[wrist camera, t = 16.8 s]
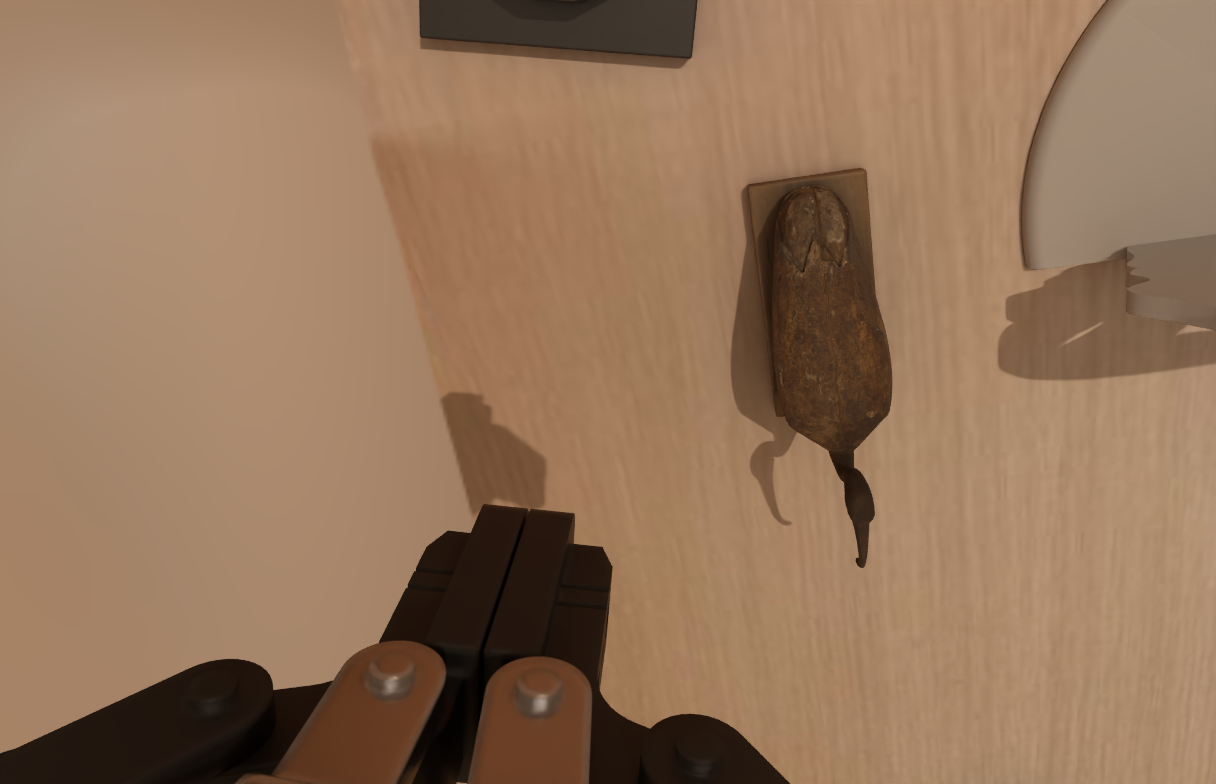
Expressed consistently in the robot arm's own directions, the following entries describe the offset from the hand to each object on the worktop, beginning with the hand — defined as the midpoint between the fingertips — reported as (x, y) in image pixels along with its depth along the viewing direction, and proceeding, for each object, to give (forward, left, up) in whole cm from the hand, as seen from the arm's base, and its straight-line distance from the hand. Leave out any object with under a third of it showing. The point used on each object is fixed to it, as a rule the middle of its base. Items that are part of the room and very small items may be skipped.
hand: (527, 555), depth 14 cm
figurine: (+8, -4, -23) cm, 25 cm away
